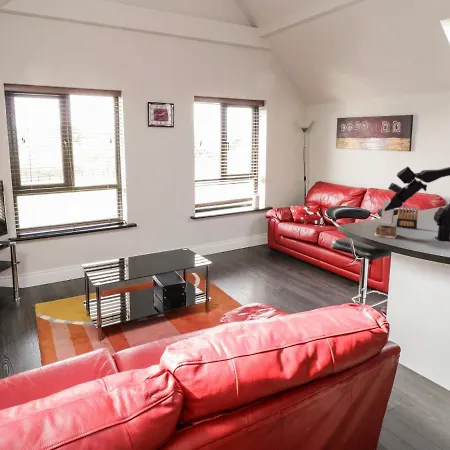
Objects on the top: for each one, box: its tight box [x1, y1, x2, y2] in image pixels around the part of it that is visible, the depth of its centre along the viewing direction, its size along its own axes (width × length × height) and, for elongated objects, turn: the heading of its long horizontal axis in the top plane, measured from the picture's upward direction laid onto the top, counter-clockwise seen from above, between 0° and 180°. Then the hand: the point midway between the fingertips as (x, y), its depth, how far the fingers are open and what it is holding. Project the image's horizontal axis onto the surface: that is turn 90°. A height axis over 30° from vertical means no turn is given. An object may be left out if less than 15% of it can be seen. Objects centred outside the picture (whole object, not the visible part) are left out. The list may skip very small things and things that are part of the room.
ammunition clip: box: [396, 205, 419, 230], centre depth 241 cm, size 11×2×12 cm, turn 62°
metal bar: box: [380, 200, 395, 225], centre depth 221 cm, size 5×5×11 cm
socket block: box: [373, 224, 398, 239], centre depth 223 cm, size 10×10×4 cm
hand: (385, 209), depth 221 cm, fingers closed on metal bar, 5 cm apart
